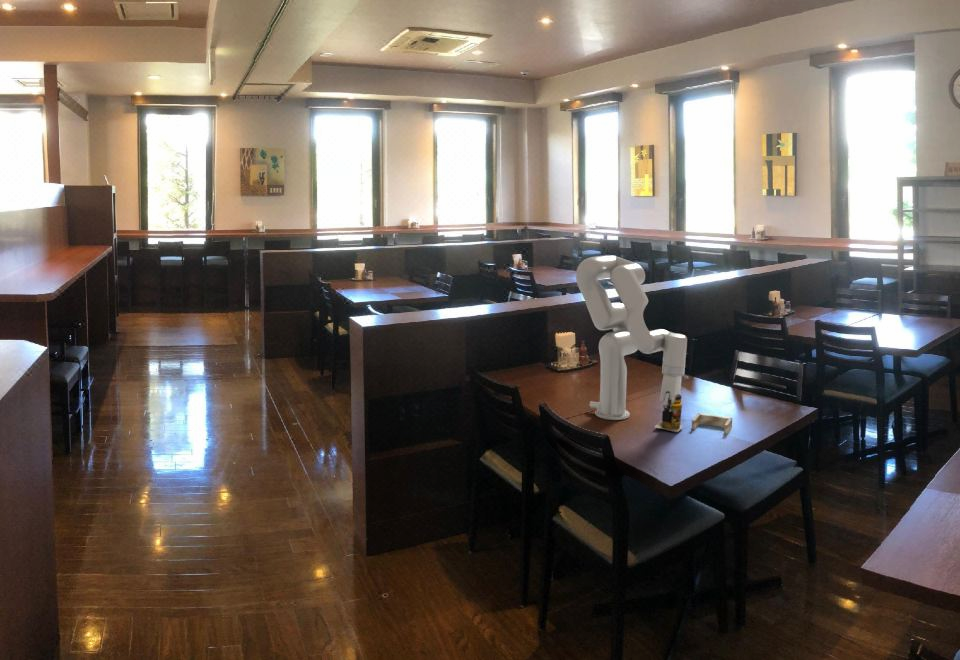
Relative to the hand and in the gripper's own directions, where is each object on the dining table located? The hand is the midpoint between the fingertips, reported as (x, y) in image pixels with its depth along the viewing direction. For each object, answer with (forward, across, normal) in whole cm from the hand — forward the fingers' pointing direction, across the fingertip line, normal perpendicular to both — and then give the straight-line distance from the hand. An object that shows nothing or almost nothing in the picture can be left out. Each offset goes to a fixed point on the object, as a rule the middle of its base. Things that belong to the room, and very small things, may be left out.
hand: (669, 418), depth 267 cm
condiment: (+3, 0, 0) cm, 3 cm away
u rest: (+4, -8, +13) cm, 16 cm away
